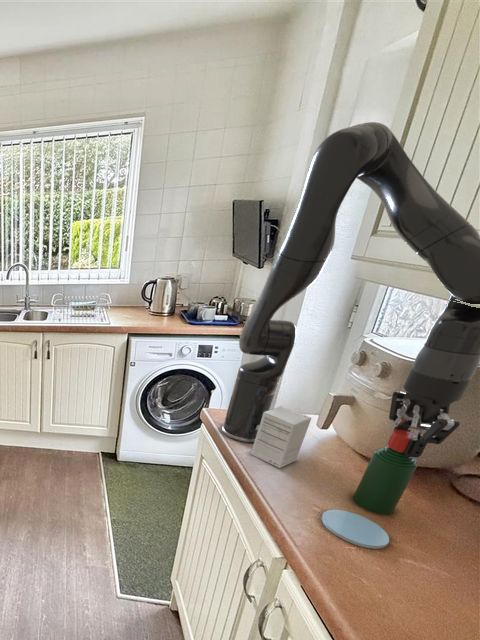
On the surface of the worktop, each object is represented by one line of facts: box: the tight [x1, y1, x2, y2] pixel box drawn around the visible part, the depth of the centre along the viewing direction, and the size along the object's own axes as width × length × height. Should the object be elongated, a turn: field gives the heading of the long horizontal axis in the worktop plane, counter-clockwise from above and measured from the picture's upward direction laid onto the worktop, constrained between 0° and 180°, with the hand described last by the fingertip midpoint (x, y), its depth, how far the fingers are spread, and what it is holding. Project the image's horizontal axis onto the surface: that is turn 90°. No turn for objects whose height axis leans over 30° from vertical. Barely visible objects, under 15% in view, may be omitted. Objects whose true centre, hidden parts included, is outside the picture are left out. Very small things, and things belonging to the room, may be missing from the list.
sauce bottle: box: [352, 446, 419, 515], centre depth 84 cm, size 6×6×17 cm
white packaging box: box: [250, 405, 312, 469], centre depth 101 cm, size 7×7×13 cm
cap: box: [386, 429, 413, 453], centre depth 80 cm, size 4×4×3 cm
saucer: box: [321, 509, 390, 550], centre depth 80 cm, size 10×10×1 cm
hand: (403, 449), depth 81 cm, fingers closed on cap, 4 cm apart
